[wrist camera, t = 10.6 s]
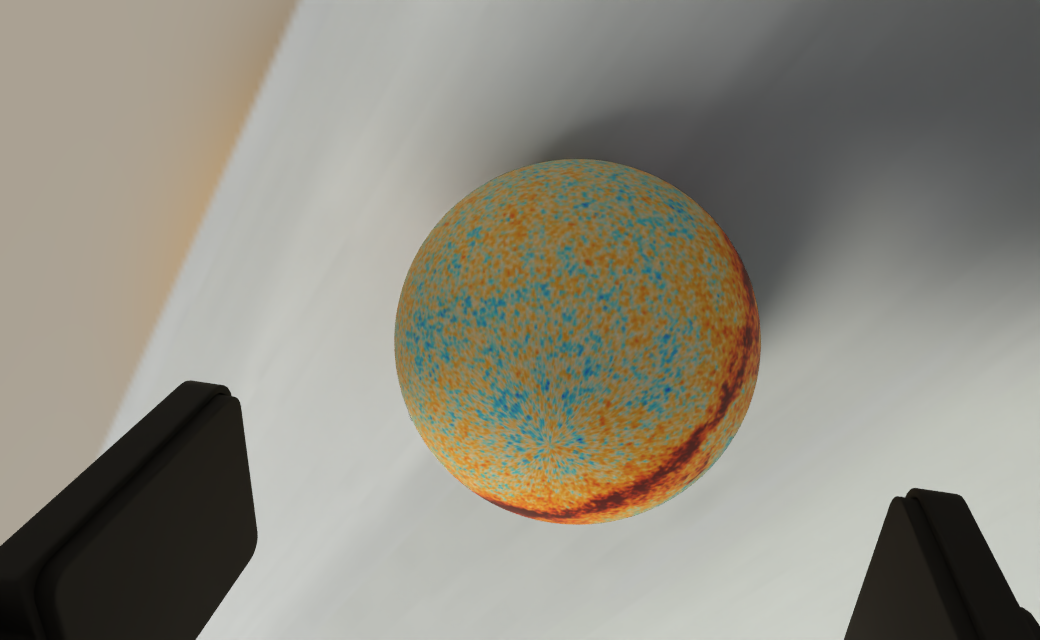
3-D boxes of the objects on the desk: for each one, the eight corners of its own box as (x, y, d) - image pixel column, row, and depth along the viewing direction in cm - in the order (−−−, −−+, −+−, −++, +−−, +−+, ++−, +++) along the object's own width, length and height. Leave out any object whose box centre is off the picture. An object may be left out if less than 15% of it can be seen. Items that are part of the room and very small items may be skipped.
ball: (407, 165, 18) (268, 289, 12) (712, 84, 16) (737, 181, 10) (497, 415, 21) (422, 622, 14) (767, 372, 19) (814, 590, 12)
